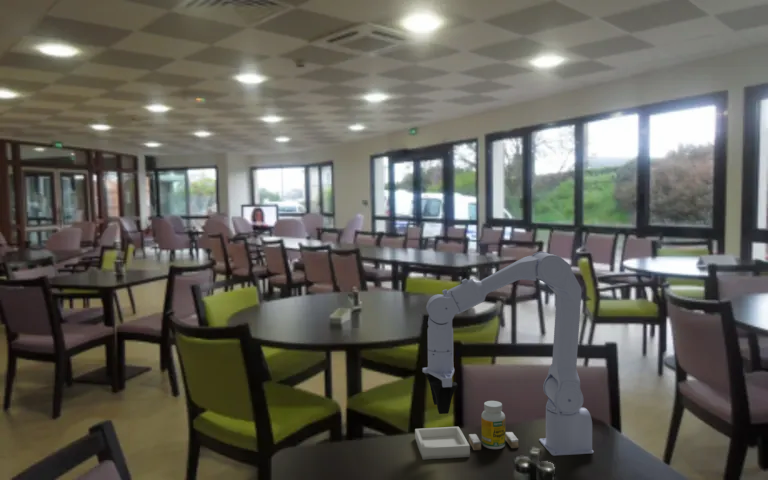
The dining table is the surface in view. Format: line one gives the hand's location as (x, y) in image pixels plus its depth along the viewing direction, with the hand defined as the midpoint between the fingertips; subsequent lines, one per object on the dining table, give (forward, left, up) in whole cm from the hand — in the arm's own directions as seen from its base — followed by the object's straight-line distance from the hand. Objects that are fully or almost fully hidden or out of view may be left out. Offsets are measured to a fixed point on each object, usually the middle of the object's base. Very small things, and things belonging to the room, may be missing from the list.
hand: (440, 408), depth 122 cm
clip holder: (-12, 0, -9) cm, 15 cm away
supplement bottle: (-12, 0, -9) cm, 15 cm away
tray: (0, 0, -9) cm, 9 cm away
